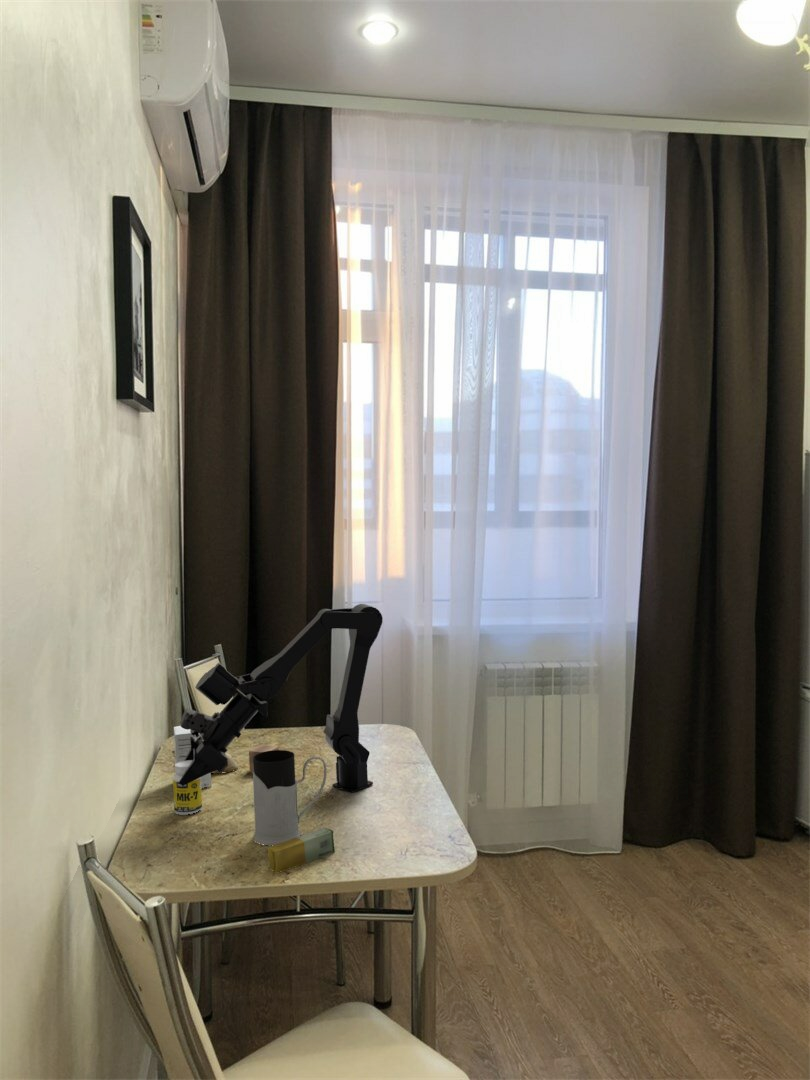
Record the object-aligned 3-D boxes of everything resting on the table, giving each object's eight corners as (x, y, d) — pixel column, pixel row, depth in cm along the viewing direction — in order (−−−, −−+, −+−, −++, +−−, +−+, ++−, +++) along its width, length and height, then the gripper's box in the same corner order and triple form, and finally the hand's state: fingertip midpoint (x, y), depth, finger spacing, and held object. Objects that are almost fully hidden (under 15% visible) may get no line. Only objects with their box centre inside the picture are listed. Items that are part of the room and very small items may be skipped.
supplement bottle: (174, 817, 162) (171, 769, 161) (174, 807, 167) (172, 761, 167) (202, 813, 163) (200, 765, 163) (202, 804, 168) (200, 757, 168)
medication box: (327, 848, 145) (325, 826, 145) (335, 853, 143) (334, 830, 143) (267, 869, 137) (266, 846, 137) (276, 874, 135) (274, 850, 135)
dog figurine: (211, 766, 194) (209, 724, 193) (240, 768, 191) (238, 726, 191) (197, 773, 189) (195, 730, 188) (227, 776, 186) (225, 732, 186)
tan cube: (279, 767, 191) (278, 746, 191) (268, 774, 187) (267, 752, 186) (261, 765, 193) (260, 744, 193) (249, 772, 188) (248, 751, 188)
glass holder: (249, 831, 153) (245, 752, 153) (322, 819, 158) (319, 742, 158) (257, 849, 145) (254, 766, 144) (334, 835, 150) (331, 755, 149)
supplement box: (175, 781, 184) (173, 726, 183) (209, 777, 186) (207, 722, 185) (176, 792, 177) (174, 734, 176) (211, 787, 179) (209, 730, 178)
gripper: (199, 685, 174) (147, 743, 171) (207, 704, 157) (150, 769, 153) (237, 717, 177) (187, 775, 174) (250, 739, 160) (195, 804, 156)
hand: (179, 779), depth 164 cm, fingers closed on supplement bottle, 5 cm apart
